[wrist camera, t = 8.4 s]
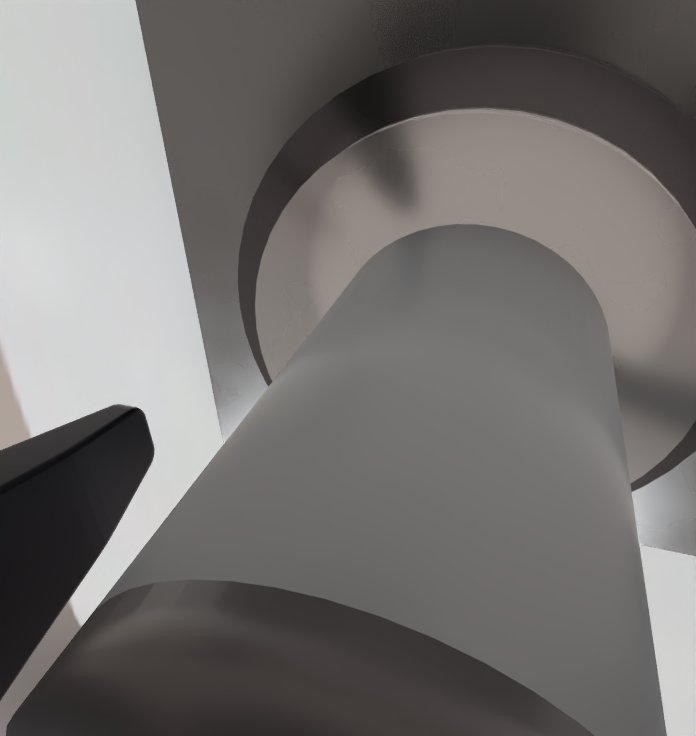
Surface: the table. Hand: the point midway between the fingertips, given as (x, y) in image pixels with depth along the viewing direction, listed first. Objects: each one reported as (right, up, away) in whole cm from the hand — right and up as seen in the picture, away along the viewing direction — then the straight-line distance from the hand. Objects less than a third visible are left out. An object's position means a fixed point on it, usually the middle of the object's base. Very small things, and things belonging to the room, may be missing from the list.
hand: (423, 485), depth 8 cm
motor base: (+2, +3, +5) cm, 6 cm away
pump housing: (+1, +2, +3) cm, 4 cm away
